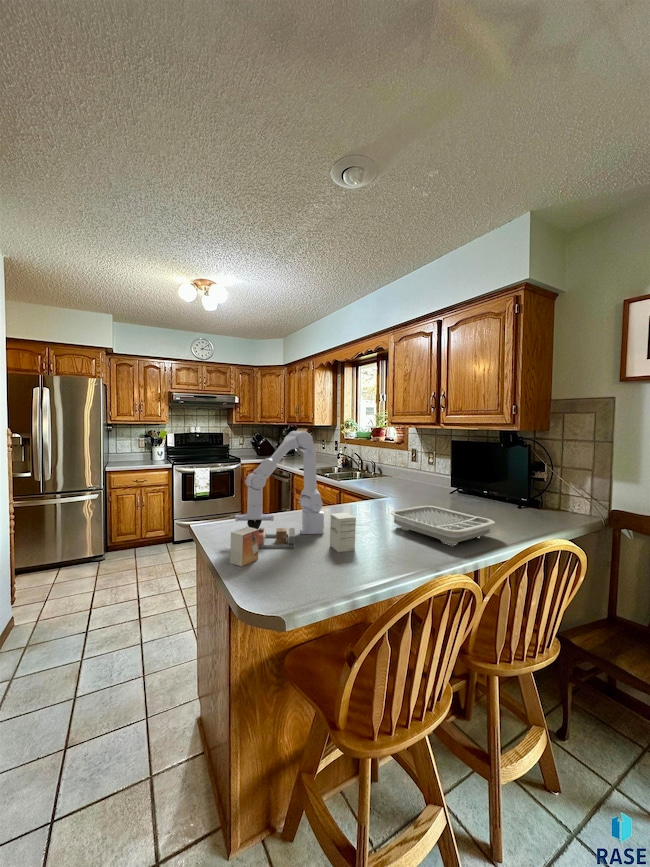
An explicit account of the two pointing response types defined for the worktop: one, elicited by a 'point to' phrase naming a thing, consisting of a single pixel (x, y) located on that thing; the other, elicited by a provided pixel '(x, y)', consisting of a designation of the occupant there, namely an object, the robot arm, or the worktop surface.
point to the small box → (244, 546)
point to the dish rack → (442, 523)
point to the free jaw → (262, 536)
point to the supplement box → (342, 532)
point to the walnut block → (281, 535)
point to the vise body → (290, 545)
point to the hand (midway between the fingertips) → (254, 538)
